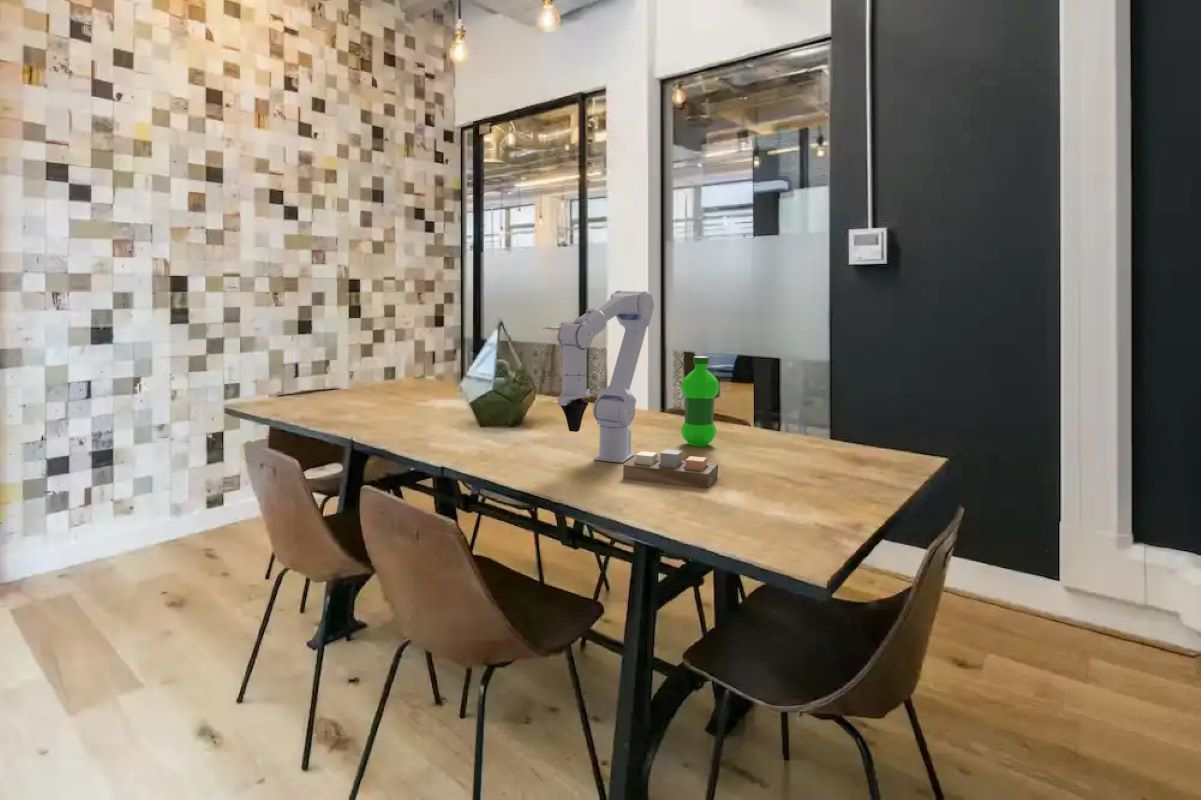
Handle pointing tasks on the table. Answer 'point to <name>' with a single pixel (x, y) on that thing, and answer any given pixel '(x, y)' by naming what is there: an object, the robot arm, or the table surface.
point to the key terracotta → (696, 463)
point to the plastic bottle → (699, 404)
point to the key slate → (671, 458)
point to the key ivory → (646, 458)
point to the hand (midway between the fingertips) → (574, 431)
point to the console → (671, 474)
